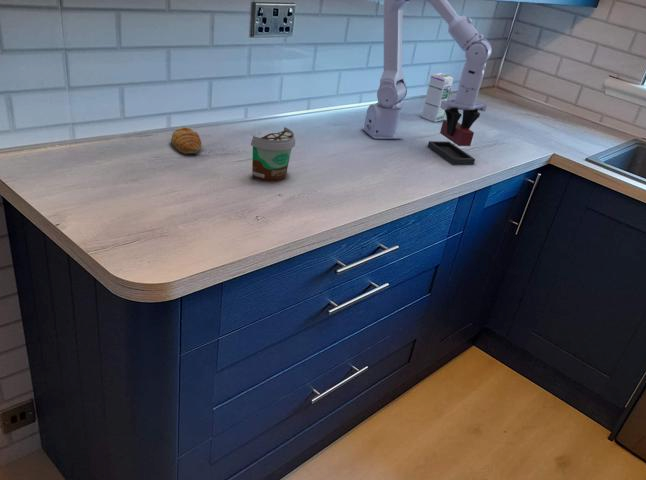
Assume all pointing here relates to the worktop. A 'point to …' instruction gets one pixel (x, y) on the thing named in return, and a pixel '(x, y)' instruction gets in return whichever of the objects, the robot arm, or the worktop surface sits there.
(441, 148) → the cradle
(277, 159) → the food container
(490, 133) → the worktop surface
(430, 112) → the syrup box
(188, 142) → the pastry
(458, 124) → the dark red block
